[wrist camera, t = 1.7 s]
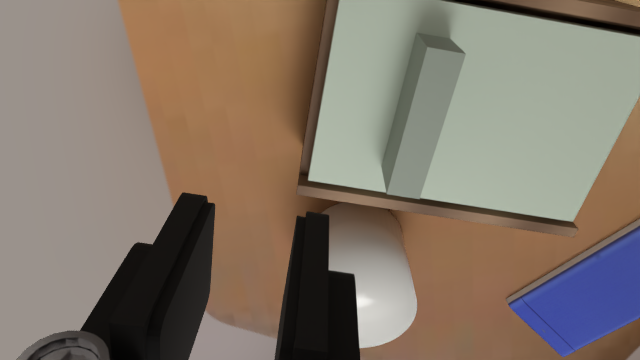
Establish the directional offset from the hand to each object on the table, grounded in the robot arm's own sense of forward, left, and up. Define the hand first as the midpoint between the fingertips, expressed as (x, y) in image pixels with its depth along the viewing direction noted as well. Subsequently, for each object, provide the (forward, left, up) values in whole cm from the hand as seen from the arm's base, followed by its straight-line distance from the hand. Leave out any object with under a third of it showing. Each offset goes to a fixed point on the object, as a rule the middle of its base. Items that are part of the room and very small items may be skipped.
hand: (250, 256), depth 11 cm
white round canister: (-6, +13, -19) cm, 24 cm away
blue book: (-26, +14, -20) cm, 36 cm away
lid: (-9, 0, -14) cm, 17 cm away
